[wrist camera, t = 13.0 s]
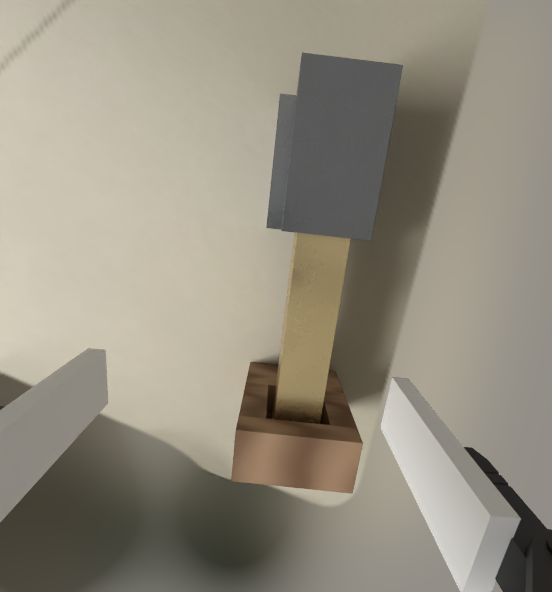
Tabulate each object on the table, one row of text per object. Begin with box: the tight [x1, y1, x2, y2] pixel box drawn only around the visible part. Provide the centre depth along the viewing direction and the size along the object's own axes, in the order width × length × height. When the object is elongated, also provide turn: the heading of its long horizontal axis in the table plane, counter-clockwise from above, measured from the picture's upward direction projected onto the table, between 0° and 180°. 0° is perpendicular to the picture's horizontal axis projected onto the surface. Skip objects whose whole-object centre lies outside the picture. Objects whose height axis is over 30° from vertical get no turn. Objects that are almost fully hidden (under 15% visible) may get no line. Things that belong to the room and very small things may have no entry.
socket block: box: [231, 363, 363, 493], centre depth 33 cm, size 11×5×13 cm, turn 84°
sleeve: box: [267, 53, 403, 241], centre depth 28 cm, size 10×12×12 cm
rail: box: [272, 232, 350, 424], centre depth 29 cm, size 4×22×4 cm, turn 174°
